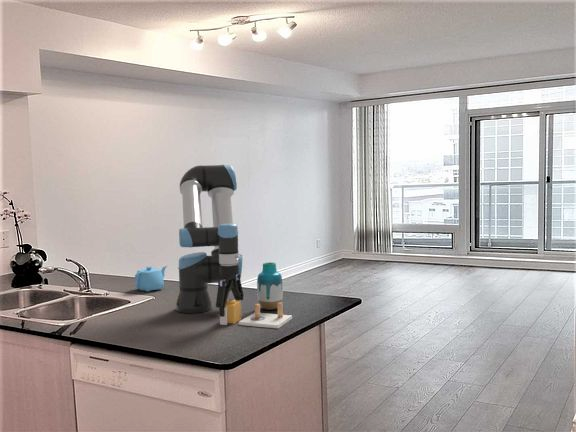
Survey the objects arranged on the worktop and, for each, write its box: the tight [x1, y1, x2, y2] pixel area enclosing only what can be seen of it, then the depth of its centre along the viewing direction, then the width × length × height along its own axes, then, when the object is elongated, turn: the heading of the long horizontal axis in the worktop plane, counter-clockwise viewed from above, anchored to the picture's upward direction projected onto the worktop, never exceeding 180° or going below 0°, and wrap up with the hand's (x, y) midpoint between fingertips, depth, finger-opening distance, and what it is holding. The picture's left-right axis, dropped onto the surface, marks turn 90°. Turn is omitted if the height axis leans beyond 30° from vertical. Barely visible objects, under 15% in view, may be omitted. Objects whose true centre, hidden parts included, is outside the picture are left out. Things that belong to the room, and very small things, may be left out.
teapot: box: [134, 265, 168, 293], centre depth 276 cm, size 12×18×12 cm
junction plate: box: [238, 301, 293, 329], centre depth 213 cm, size 16×14×7 cm
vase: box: [256, 261, 284, 310], centre depth 232 cm, size 11×11×19 cm
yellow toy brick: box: [225, 298, 242, 324], centre depth 216 cm, size 6×6×8 cm
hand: (230, 320), depth 216 cm, fingers open, 11 cm apart
